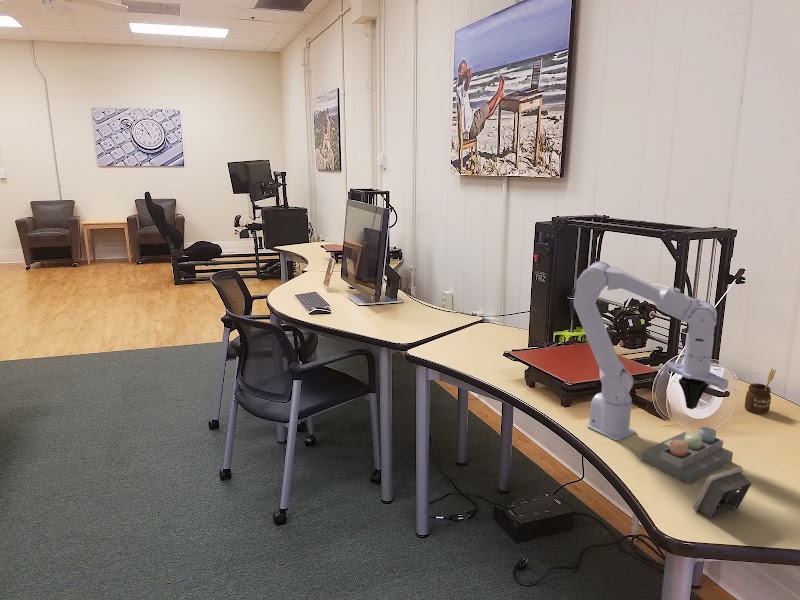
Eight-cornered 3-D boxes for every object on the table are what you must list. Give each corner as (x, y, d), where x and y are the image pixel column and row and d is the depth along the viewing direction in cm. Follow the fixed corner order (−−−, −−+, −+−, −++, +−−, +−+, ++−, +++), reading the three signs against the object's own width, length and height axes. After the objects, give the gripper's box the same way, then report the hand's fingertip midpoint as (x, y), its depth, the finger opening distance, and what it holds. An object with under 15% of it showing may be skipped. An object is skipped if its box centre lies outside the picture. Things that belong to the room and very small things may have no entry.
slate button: (694, 438, 138) (695, 429, 138) (703, 434, 140) (704, 425, 140) (709, 444, 136) (710, 435, 135) (718, 440, 137) (719, 431, 137)
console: (641, 460, 137) (643, 443, 136) (683, 441, 146) (685, 424, 145) (689, 484, 128) (691, 465, 126) (731, 461, 136) (734, 444, 135)
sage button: (680, 445, 136) (681, 435, 135) (689, 441, 137) (690, 431, 137) (695, 451, 133) (696, 442, 132) (704, 447, 134) (705, 437, 134)
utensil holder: (739, 406, 165) (745, 366, 162) (760, 405, 166) (766, 365, 163) (752, 415, 160) (759, 374, 157) (775, 414, 160) (781, 373, 157)
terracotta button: (665, 452, 133) (667, 442, 132) (675, 447, 134) (676, 438, 134) (680, 458, 130) (681, 449, 129) (690, 454, 132) (691, 444, 131)
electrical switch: (723, 499, 122) (733, 461, 119) (745, 514, 118) (756, 475, 115) (690, 510, 119) (699, 471, 116) (712, 527, 114) (722, 487, 111)
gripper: (659, 348, 141) (654, 400, 145) (718, 366, 129) (711, 423, 133) (676, 343, 145) (671, 394, 148) (736, 360, 133) (728, 415, 137)
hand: (691, 407), depth 141 cm, fingers closed
